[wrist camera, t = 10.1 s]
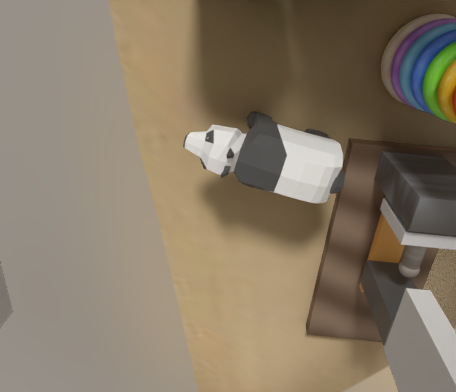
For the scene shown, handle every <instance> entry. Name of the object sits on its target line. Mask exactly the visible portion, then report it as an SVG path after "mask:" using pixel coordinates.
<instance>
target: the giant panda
mask: <svg viewBox="0 0 456 392" xmlns="http://www.w3.org/2000/svg"><path fill="white" fill-rule="evenodd" d="M248 125H250V126H251V127H252V128H251V129H250V130H249V131H248V133H247V134H243V133H242V132H241V131H240V130H239V129H236V128H231V127H225V126H219V125H212V126H211V127H210V128H209V129H208V130H207V131H202V132H191V133H188V134H187V135H186V137H185V140H184V146H183V147H184V148H186V149H187V150H189V151H191V152H192V153H193V154H195V155H196V156H197V157H199V158H200V160H201V163H202V165H203V168H204V169H206V170H209V171H211V172H214V173H216V174H219V175H221V178H222V177H224V176H226V175H227V174H228V173H229V172H234V173H235V175H236V176H237V178H238V180H239V182H241V183H243V184H245V185H247V186H250V187H254V188H258V189H262V190H266V191H270V192H273V193H277V194H280V195H284V196H287V197H291V198H295V199H299V200H302V201H306V202H310V203H314V204H316V203H325V202H327V200H328V197H329V194H330V193H332V194H333V193H339V192H340V191H341V190H342V188H343V186H344V181H345V172H343V171H341V168H342V163H343V153H342V149H341V145H340V144H339V143H338V142H337V141H335V140H332V139H331V138H329V137H328V135H327V134H325V133H323V132H320V131H316V130H311V129H307V130H306V131H305V132H302V131H299V130H295V129H292V128H289V127H285V126H282V125H279V124H277V123H275V122H274V121H273V120H272V118H271V117H269V116H267V115H265V114H262V113H258V112H251V113H250V114H249V116H248Z"/></svg>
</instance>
